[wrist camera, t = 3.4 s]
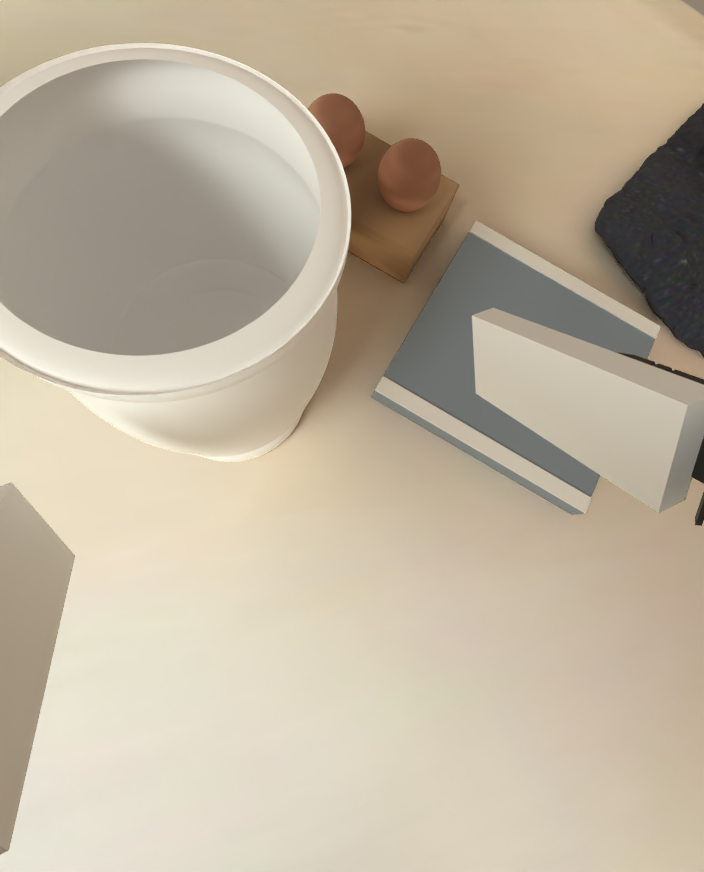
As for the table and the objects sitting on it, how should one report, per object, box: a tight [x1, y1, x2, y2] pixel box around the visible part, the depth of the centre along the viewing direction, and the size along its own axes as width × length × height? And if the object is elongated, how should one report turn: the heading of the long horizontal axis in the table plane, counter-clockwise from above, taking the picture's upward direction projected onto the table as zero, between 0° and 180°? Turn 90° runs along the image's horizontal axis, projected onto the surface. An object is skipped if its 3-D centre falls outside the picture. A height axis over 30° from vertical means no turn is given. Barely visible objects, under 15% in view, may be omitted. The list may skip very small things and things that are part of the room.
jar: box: [0, 43, 351, 462], centre depth 18 cm, size 11×10×15 cm
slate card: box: [371, 220, 661, 514], centre depth 27 cm, size 14×14×1 cm
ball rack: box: [308, 94, 459, 283], centre depth 26 cm, size 10×6×6 cm, turn 60°
